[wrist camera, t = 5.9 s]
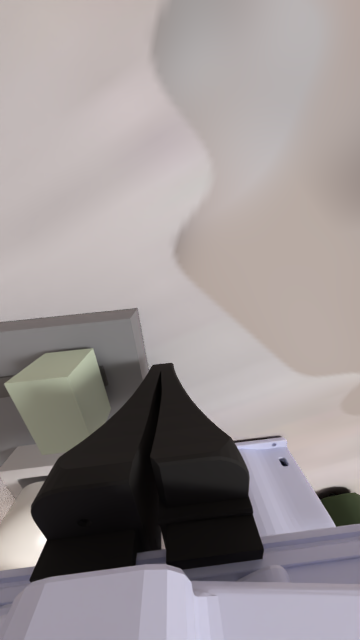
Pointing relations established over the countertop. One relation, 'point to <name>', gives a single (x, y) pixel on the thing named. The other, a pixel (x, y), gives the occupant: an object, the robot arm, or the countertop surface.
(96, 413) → the pale green block
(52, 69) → the countertop surface
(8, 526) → the off-white button
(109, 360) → the switch panel
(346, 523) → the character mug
